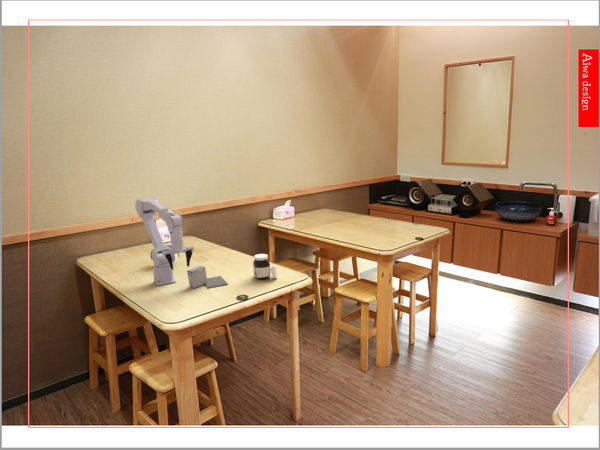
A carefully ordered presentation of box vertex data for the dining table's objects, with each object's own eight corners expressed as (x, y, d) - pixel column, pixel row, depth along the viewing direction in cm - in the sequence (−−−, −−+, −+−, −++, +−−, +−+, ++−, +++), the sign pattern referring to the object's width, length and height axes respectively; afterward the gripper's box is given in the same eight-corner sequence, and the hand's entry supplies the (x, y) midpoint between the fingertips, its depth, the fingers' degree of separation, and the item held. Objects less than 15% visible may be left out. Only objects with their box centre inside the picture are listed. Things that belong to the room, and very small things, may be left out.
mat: (208, 288, 214) (208, 287, 214) (201, 280, 225) (201, 279, 225) (228, 284, 218) (228, 283, 218) (220, 276, 230) (220, 275, 229)
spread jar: (252, 275, 230) (250, 254, 227) (272, 272, 234) (271, 251, 231) (259, 283, 219) (258, 260, 216) (280, 279, 223) (279, 257, 220)
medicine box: (202, 281, 223) (199, 265, 220) (207, 282, 220) (205, 266, 218) (189, 286, 217) (186, 270, 214) (195, 288, 214) (192, 271, 212)
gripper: (162, 244, 204) (166, 272, 206) (194, 239, 210) (197, 266, 213) (160, 241, 210) (163, 268, 213) (190, 236, 216) (193, 263, 219)
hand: (180, 267), depth 213 cm, fingers open, 7 cm apart
